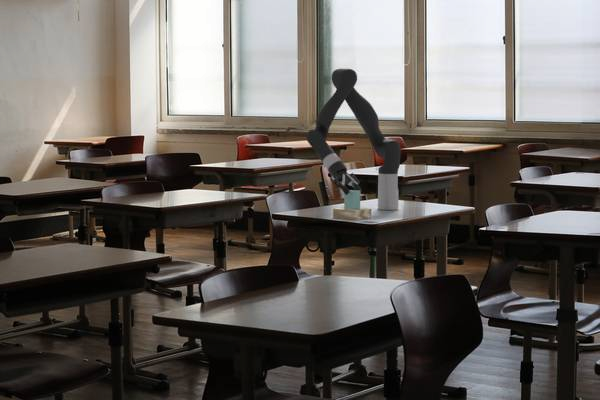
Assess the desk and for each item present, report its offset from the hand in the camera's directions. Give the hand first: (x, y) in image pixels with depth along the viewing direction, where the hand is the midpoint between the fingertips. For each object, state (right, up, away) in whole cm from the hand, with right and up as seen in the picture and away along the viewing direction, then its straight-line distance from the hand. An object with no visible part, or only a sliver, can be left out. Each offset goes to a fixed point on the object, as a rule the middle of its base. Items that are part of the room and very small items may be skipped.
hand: (354, 193), depth 441 cm
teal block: (-1, -7, +1) cm, 7 cm away
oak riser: (-1, -11, +2) cm, 11 cm away
